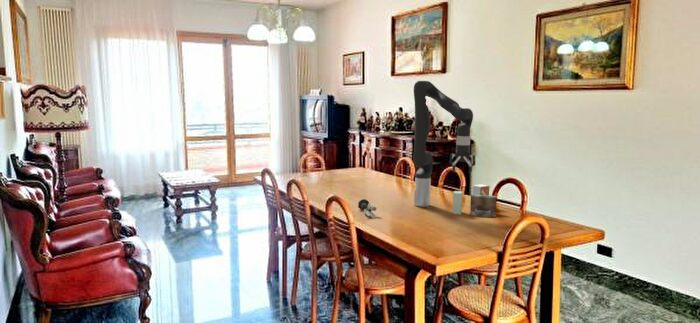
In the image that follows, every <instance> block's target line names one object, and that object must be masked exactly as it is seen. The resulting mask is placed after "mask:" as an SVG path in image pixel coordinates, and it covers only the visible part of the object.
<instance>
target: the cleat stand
mask: <svg viewBox="0 0 700 323" xmlns="http://www.w3.org/2000/svg"><path fill="white" fill-rule="evenodd" d="M469 207H470V210H469V214H468V216H469V217H479V218H496V217H497V195H489V196H484V195H472V194H471V195H470V206H469Z"/></svg>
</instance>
